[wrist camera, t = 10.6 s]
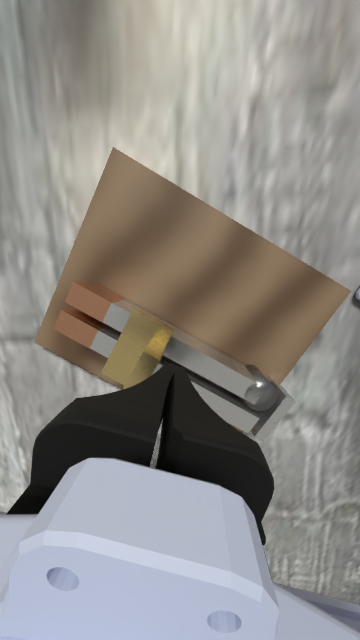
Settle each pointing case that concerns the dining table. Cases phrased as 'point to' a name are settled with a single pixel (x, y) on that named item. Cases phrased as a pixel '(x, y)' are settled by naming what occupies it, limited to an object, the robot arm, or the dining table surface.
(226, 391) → the fixed tong arm
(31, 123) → the dining table surface
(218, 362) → the hinged tong arm
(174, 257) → the walnut board
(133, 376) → the brass ring
